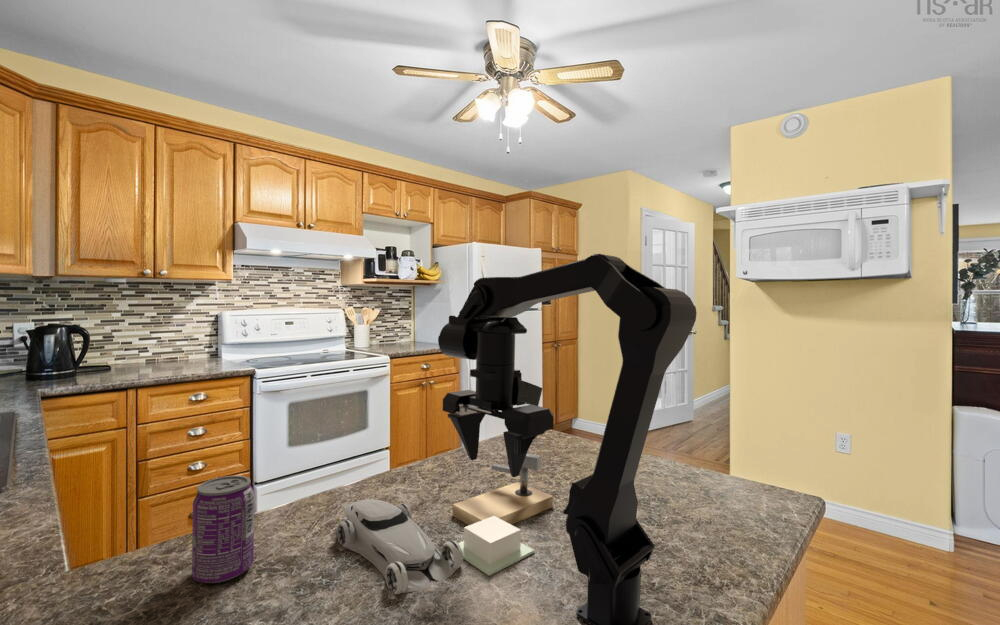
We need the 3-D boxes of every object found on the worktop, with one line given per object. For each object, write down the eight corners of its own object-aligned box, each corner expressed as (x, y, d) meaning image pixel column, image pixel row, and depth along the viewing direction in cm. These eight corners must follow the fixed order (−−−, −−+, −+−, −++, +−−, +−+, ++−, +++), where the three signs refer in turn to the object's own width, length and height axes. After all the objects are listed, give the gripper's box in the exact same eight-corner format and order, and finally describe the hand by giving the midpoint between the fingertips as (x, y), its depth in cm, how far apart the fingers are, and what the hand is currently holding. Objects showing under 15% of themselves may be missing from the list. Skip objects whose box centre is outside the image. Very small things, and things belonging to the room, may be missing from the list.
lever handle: (490, 485, 88) (491, 449, 88) (494, 483, 89) (495, 447, 89) (536, 496, 83) (537, 458, 83) (540, 493, 85) (541, 455, 85)
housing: (486, 535, 73) (486, 522, 73) (452, 515, 80) (452, 503, 80) (552, 507, 84) (552, 495, 84) (517, 491, 91) (517, 481, 91)
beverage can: (240, 552, 67) (241, 470, 67) (262, 571, 63) (263, 483, 62) (183, 573, 62) (184, 484, 61) (203, 595, 57) (204, 499, 57)
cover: (490, 564, 64) (490, 543, 64) (463, 547, 69) (464, 527, 69) (520, 549, 68) (520, 529, 68) (493, 534, 73) (494, 515, 73)
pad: (489, 575, 62) (489, 572, 62) (449, 549, 69) (449, 546, 69) (534, 552, 69) (534, 550, 69) (493, 530, 75) (493, 527, 75)
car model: (397, 605, 57) (397, 564, 57) (324, 529, 75) (324, 499, 75) (469, 572, 64) (470, 536, 64) (386, 510, 82) (387, 483, 82)
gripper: (579, 366, 67) (577, 472, 67) (493, 354, 81) (491, 443, 81) (526, 372, 59) (523, 492, 60) (441, 358, 73) (439, 456, 73)
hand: (493, 467), depth 69 cm, fingers open, 9 cm apart
